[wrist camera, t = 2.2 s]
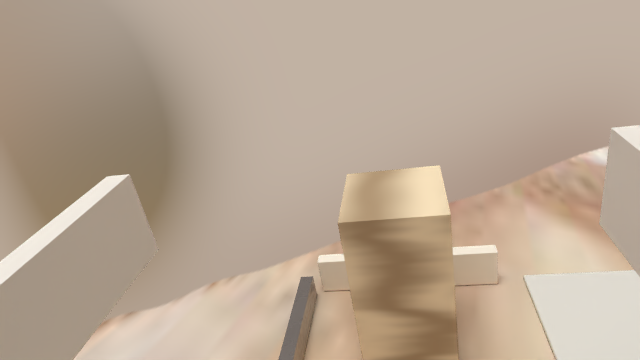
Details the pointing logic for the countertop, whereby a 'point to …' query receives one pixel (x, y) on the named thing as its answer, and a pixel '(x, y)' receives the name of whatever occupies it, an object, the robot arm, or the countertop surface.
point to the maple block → (400, 263)
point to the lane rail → (467, 261)
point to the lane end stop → (299, 321)
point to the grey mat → (589, 313)
